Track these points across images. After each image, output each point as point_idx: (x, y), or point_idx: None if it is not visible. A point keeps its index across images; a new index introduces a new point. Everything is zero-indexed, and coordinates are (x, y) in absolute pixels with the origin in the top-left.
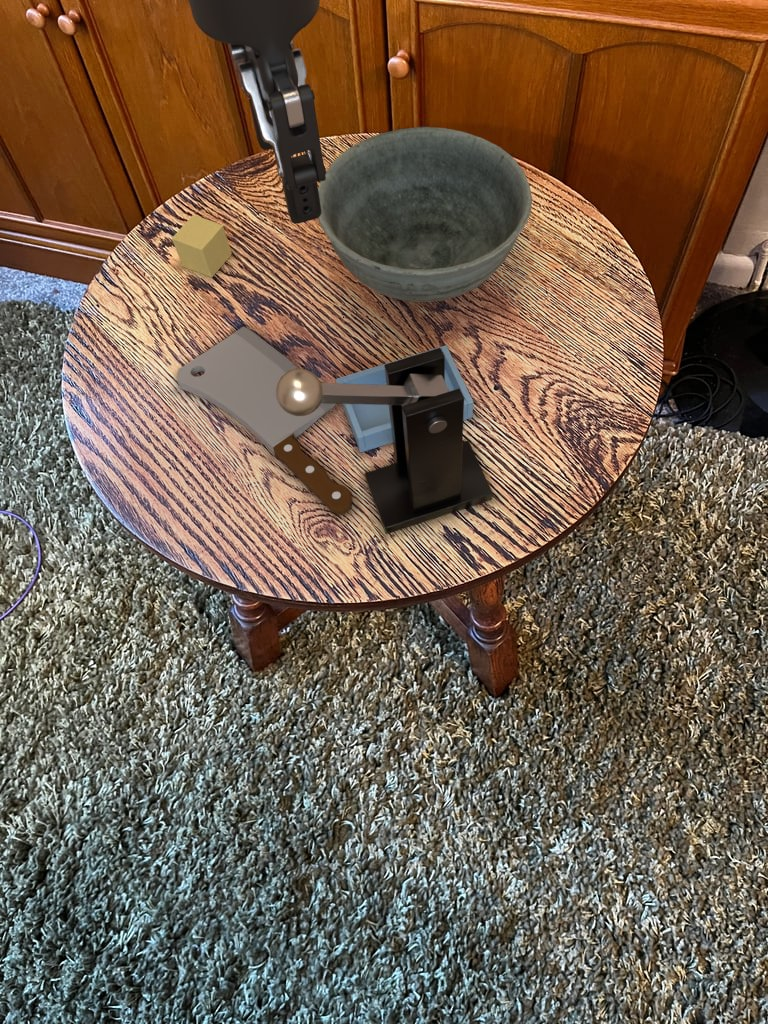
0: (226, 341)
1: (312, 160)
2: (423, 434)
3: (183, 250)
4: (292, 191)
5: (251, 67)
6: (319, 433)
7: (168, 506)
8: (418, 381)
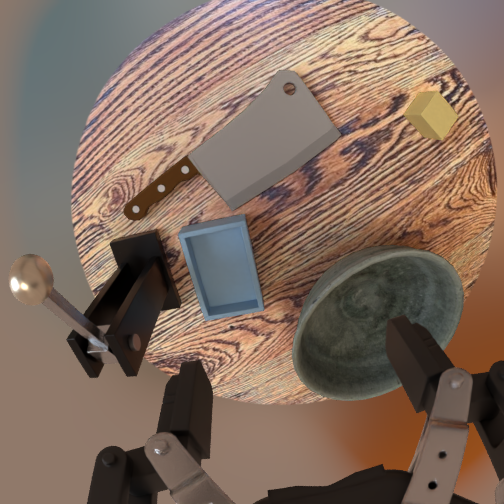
0: (324, 117)
1: (148, 495)
2: None
3: (427, 97)
4: (163, 421)
5: None
6: (205, 194)
7: (151, 68)
8: (102, 353)
